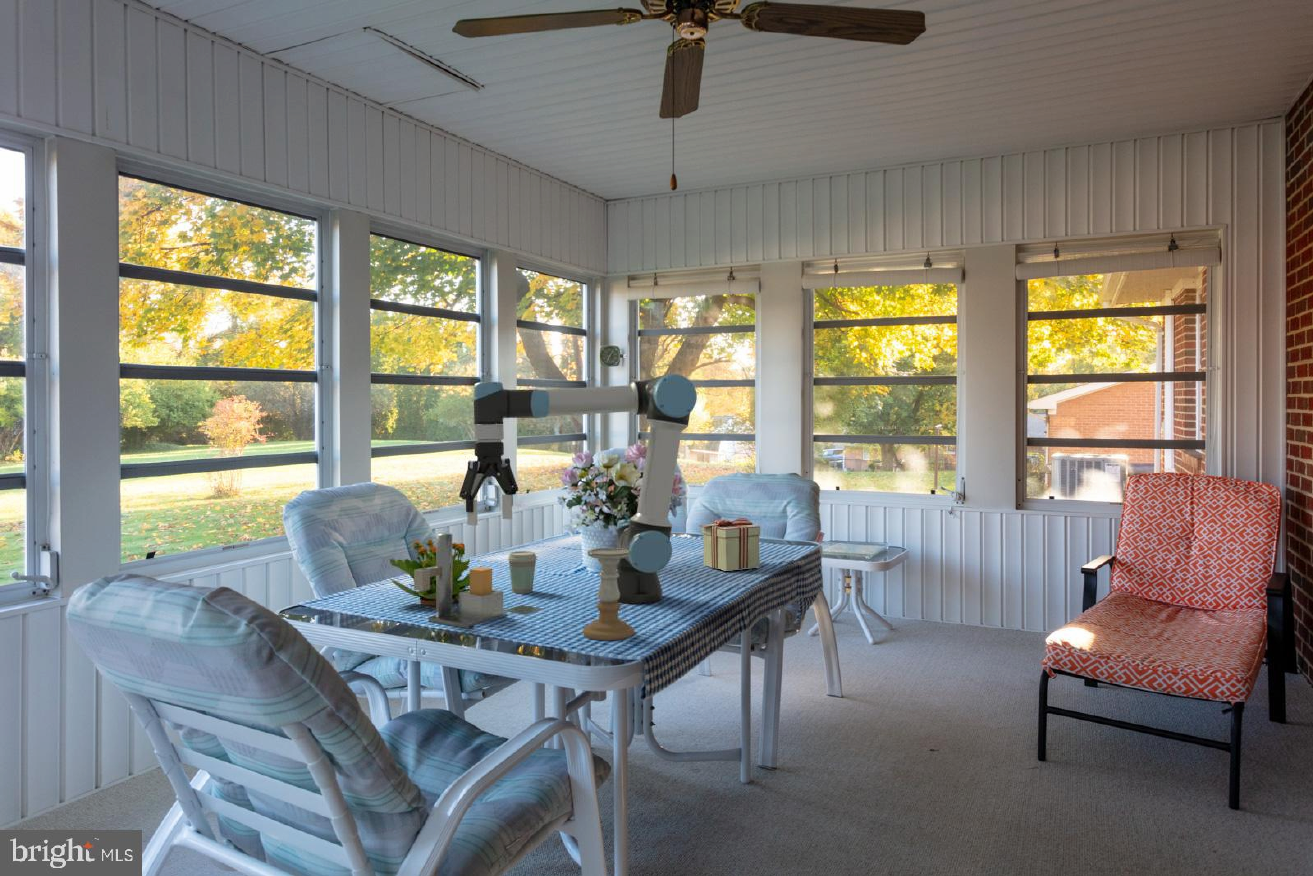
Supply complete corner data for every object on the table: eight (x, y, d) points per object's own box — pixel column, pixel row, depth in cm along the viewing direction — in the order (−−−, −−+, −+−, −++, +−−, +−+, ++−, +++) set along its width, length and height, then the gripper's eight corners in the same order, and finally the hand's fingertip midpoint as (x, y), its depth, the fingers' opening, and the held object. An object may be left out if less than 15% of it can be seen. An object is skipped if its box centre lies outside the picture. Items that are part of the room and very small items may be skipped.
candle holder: (580, 640, 195) (581, 555, 194) (585, 627, 207) (585, 546, 207) (633, 641, 195) (633, 555, 194) (634, 627, 207) (635, 547, 207)
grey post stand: (507, 617, 217) (507, 533, 216) (453, 633, 200) (453, 542, 200) (467, 610, 224) (468, 529, 223) (412, 625, 208) (412, 537, 207)
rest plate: (544, 611, 224) (544, 608, 224) (525, 617, 217) (525, 614, 217) (521, 607, 228) (521, 605, 228) (502, 613, 221) (502, 610, 221)
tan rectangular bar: (492, 614, 215) (492, 568, 215) (481, 617, 212) (481, 570, 212) (480, 612, 217) (480, 567, 217) (469, 615, 214) (469, 569, 214)
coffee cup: (539, 590, 250) (539, 551, 250) (532, 596, 242) (532, 555, 242) (512, 590, 251) (512, 550, 251) (504, 596, 243) (504, 555, 242)
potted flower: (456, 615, 219) (456, 549, 218) (373, 610, 223) (373, 545, 223) (491, 595, 243) (492, 535, 243) (416, 591, 248) (416, 533, 247)
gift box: (728, 561, 305) (729, 514, 304) (762, 569, 290) (763, 519, 289) (691, 565, 295) (692, 517, 295) (725, 574, 280) (725, 523, 279)
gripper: (509, 439, 230) (510, 515, 231) (444, 442, 208) (445, 526, 209) (530, 439, 226) (531, 517, 227) (466, 442, 205) (468, 528, 205)
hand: (490, 522), depth 218 cm, fingers open, 13 cm apart
